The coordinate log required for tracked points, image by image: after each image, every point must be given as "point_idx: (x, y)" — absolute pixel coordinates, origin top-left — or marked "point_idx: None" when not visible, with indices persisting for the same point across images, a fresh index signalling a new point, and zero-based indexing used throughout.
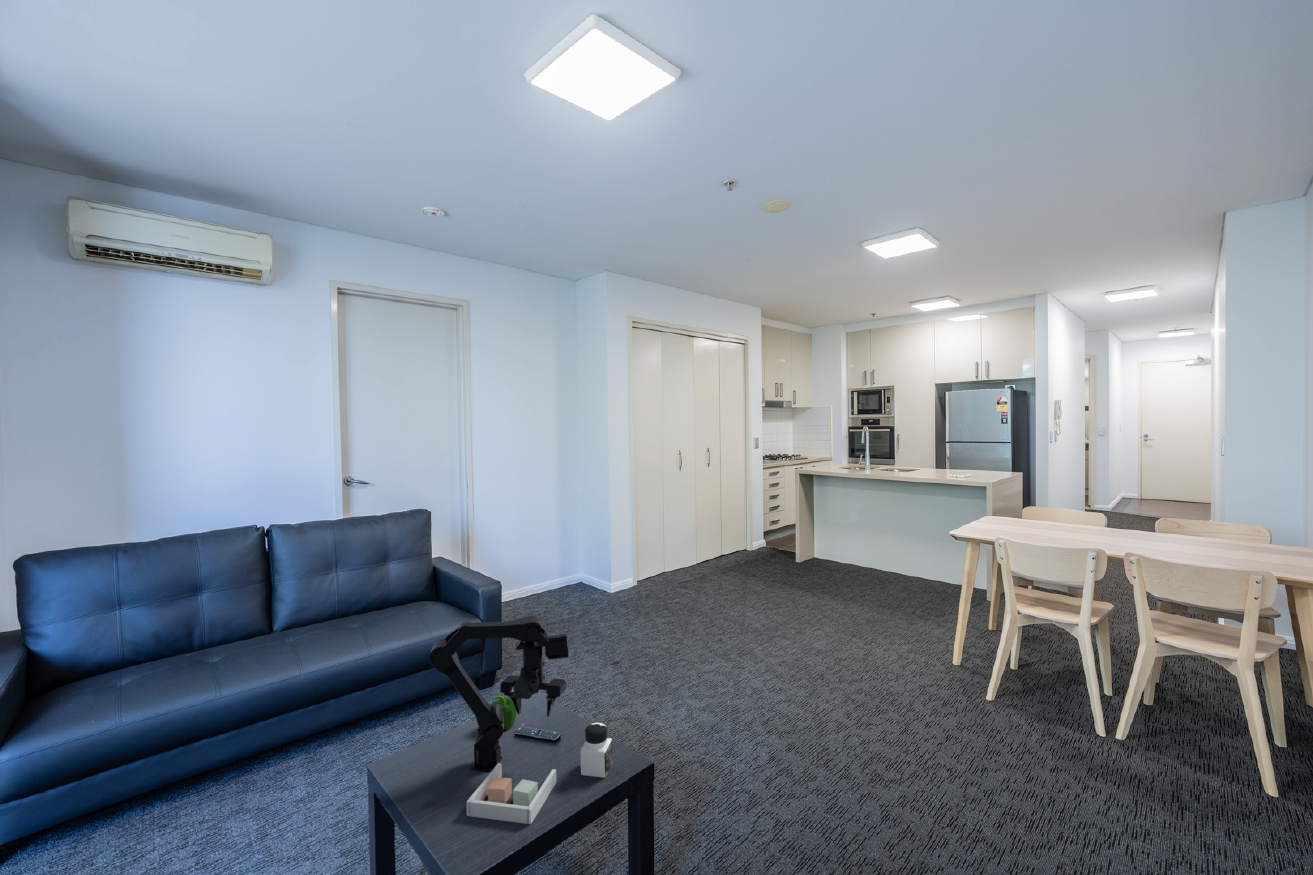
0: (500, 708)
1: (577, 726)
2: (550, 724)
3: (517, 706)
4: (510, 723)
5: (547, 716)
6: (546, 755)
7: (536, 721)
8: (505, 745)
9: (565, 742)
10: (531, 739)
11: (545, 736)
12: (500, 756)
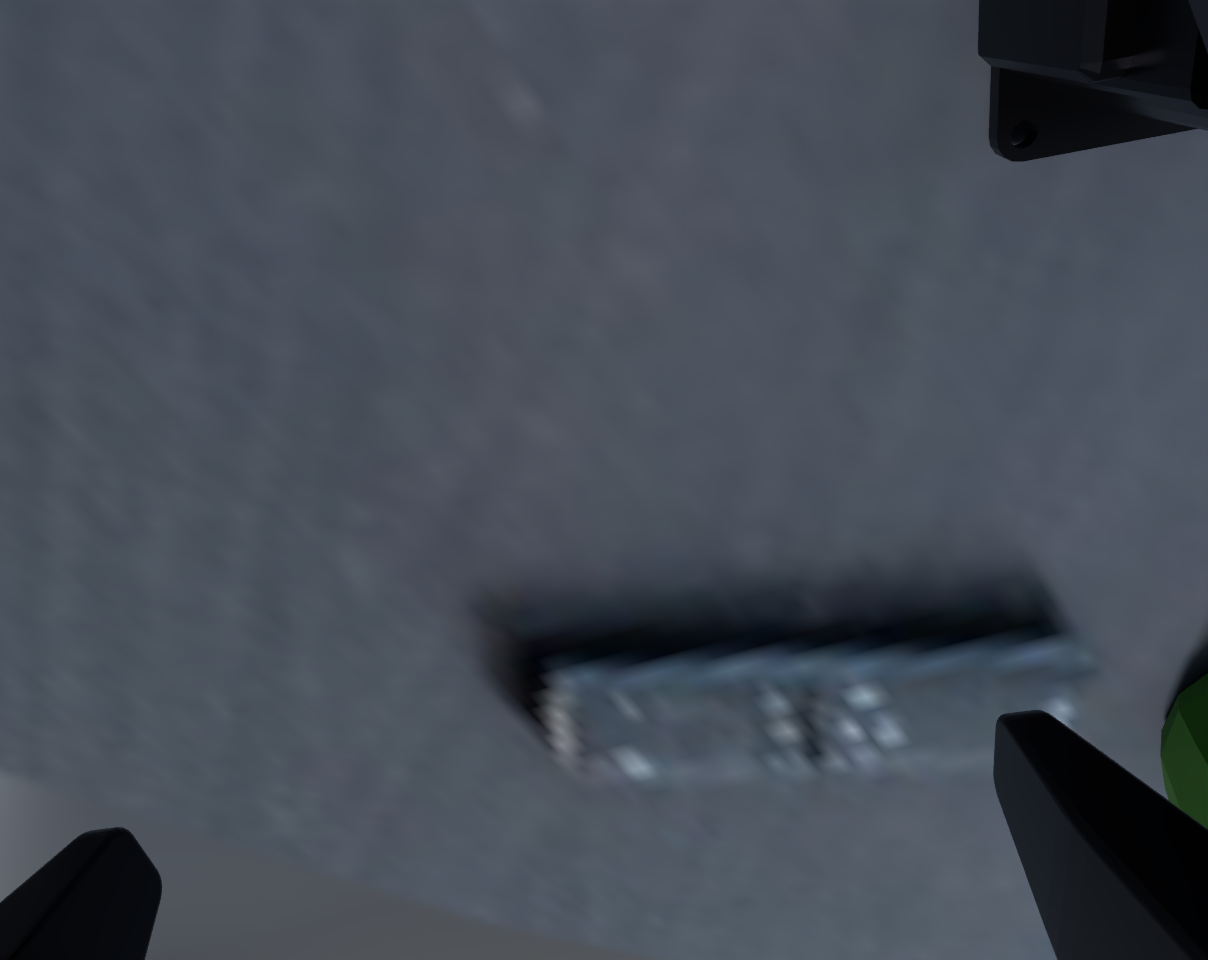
0: None
1: (484, 881)
2: (759, 844)
3: (1191, 937)
4: (1196, 732)
5: (107, 831)
6: (449, 416)
7: (929, 845)
8: (1083, 421)
9: (416, 669)
10: (815, 608)
11: (691, 690)
12: (1002, 43)
